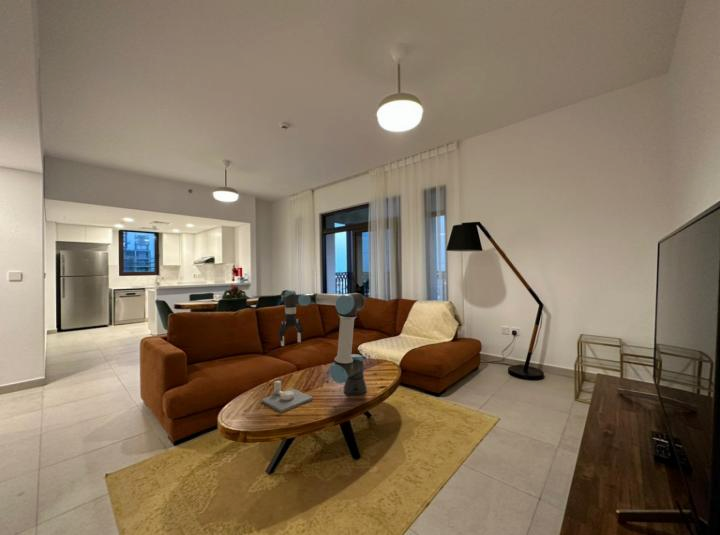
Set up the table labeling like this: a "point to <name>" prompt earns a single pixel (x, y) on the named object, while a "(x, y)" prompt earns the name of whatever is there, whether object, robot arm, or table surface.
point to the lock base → (282, 405)
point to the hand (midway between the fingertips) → (291, 343)
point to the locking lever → (283, 395)
